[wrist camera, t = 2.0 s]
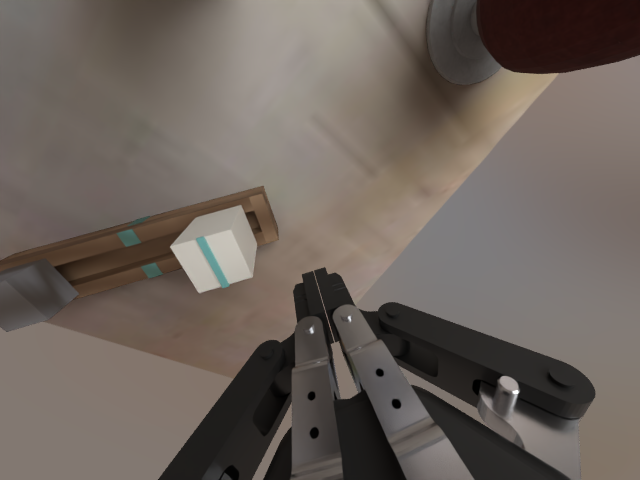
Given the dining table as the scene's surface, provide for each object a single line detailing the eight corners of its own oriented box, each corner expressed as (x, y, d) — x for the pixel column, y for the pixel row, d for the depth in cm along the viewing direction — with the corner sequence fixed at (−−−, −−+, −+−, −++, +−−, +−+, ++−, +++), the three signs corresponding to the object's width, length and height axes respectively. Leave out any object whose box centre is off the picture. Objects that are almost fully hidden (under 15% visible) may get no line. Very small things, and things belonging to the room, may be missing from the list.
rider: (200, 210, 26) (168, 246, 18) (243, 198, 27) (229, 229, 18) (219, 248, 29) (198, 295, 20) (258, 237, 29) (252, 279, 21)
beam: (14, 252, 26) (-80, 297, 19) (263, 185, 28) (260, 202, 21) (54, 292, 29) (-15, 343, 22) (278, 228, 31) (279, 256, 24)
